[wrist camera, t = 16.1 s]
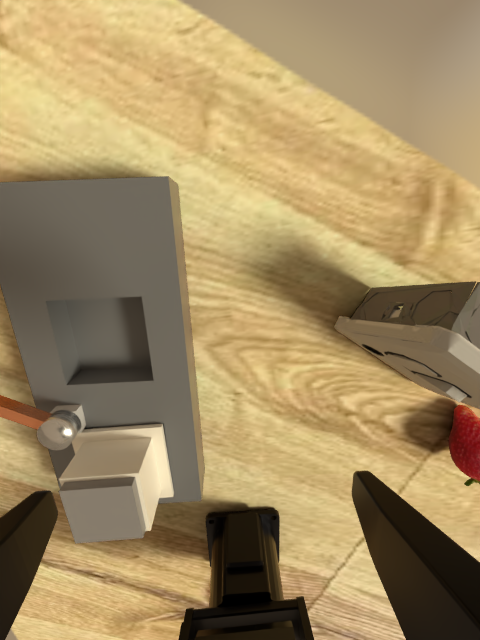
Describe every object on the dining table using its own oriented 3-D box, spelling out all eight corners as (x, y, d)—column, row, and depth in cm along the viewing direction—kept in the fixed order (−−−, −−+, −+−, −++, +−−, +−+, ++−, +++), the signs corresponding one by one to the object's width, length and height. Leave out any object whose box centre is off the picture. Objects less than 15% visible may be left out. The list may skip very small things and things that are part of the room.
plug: (178, 469, 23) (162, 548, 18) (103, 475, 23) (62, 556, 18) (168, 405, 22) (147, 470, 16) (86, 411, 21) (35, 478, 16)
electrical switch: (327, 324, 21) (412, 378, 12) (370, 263, 21) (495, 273, 12) (418, 385, 23) (550, 471, 14) (461, 331, 22) (629, 386, 13)
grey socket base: (204, 469, 25) (200, 510, 21) (84, 476, 25) (60, 519, 21) (177, 184, 18) (165, 174, 14) (12, 190, 18) (-43, 181, 14)
